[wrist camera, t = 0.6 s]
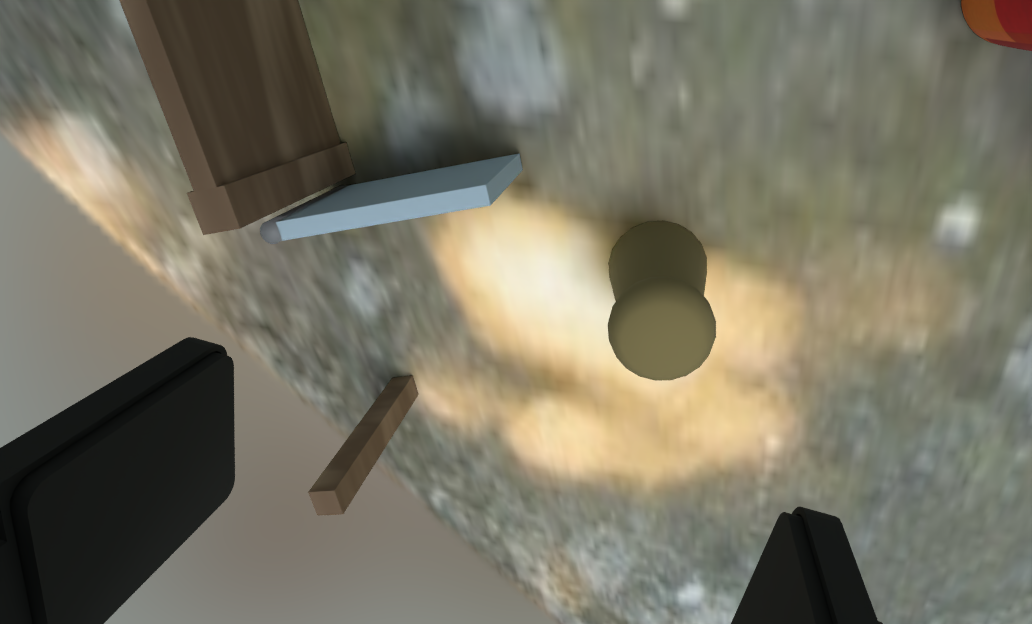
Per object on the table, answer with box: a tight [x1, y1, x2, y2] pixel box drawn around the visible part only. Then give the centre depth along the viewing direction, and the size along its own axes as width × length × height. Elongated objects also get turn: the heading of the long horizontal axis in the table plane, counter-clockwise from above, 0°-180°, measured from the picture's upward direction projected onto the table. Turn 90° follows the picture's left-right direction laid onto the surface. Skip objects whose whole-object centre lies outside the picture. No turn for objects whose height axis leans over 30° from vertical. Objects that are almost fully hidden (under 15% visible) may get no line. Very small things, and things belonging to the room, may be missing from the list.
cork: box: [608, 221, 716, 380], centre depth 35 cm, size 6×6×11 cm
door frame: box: [120, 0, 418, 515], centre depth 36 cm, size 2×27×13 cm, turn 12°
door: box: [260, 154, 523, 244], centre depth 36 cm, size 1×12×9 cm, turn 102°
